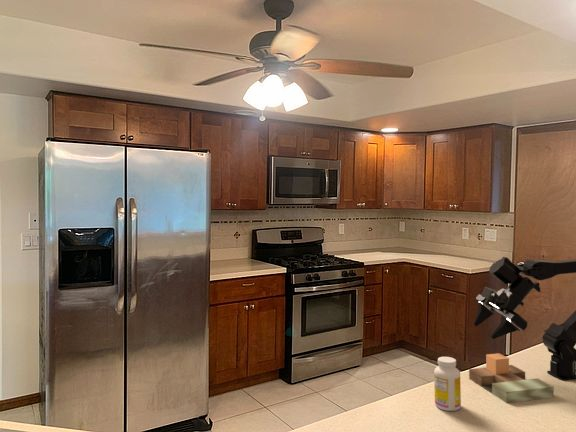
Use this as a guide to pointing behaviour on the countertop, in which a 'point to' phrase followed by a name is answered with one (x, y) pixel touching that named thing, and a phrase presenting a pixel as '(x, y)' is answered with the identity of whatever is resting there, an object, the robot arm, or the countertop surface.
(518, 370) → the trap board
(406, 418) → the countertop surface
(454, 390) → the supplement bottle
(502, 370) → the block
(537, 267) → the robot arm
